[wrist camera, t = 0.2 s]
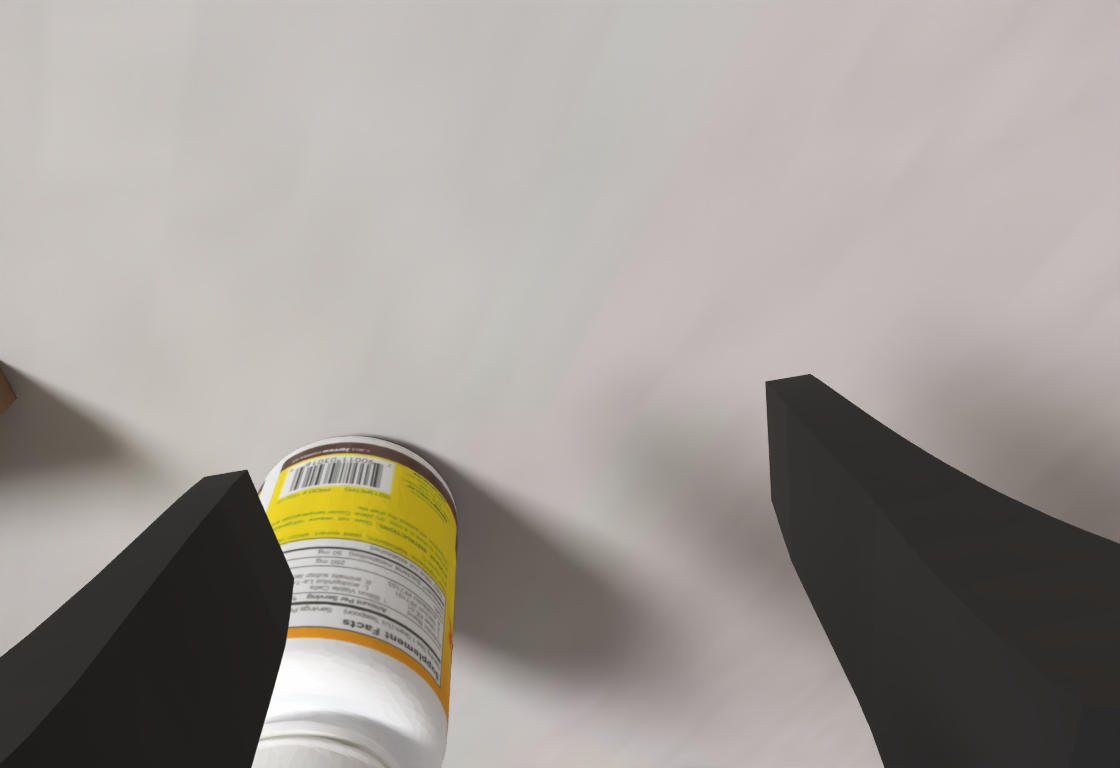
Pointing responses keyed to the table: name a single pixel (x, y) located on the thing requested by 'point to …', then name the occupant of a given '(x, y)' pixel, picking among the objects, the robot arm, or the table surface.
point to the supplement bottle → (362, 608)
